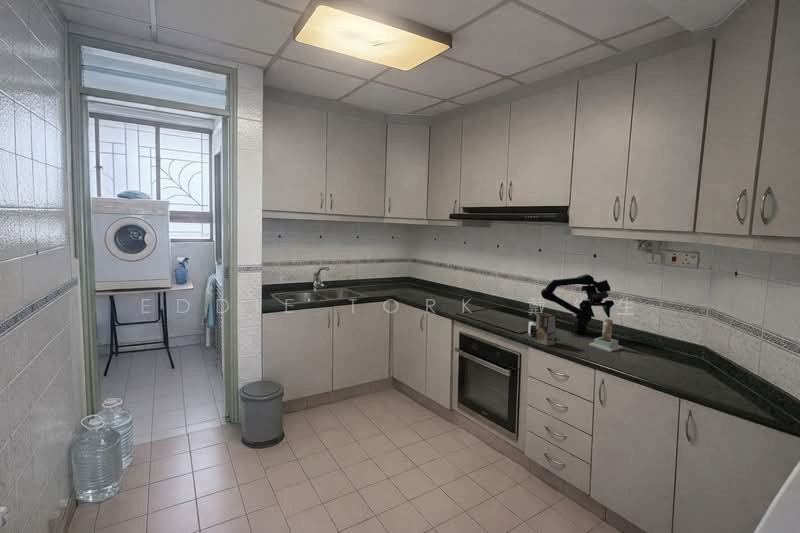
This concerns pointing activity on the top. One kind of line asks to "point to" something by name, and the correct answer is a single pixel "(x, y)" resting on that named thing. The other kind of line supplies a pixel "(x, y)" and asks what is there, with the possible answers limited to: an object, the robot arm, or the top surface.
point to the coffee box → (545, 328)
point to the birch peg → (607, 330)
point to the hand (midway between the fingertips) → (601, 317)
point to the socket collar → (606, 344)
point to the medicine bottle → (532, 326)
